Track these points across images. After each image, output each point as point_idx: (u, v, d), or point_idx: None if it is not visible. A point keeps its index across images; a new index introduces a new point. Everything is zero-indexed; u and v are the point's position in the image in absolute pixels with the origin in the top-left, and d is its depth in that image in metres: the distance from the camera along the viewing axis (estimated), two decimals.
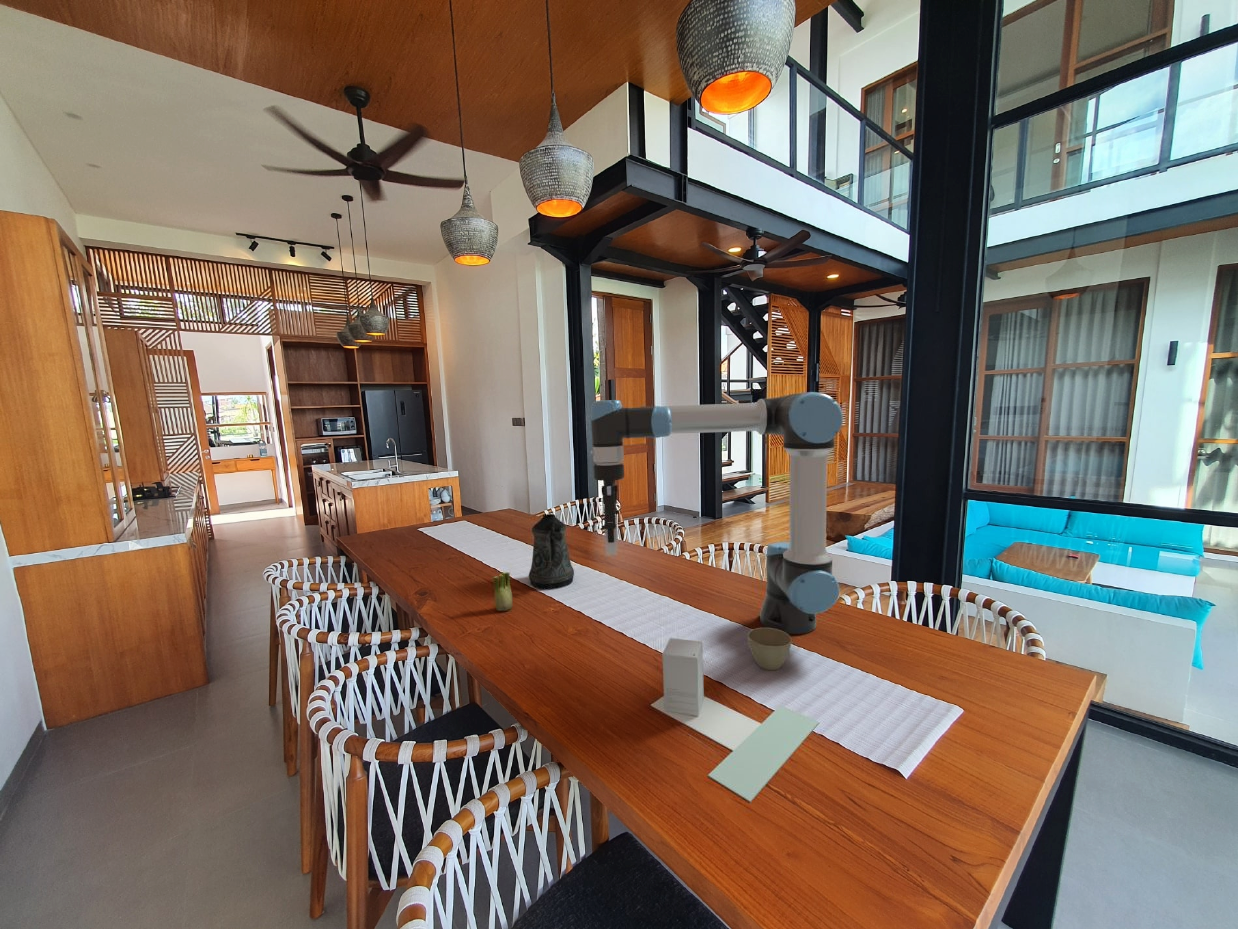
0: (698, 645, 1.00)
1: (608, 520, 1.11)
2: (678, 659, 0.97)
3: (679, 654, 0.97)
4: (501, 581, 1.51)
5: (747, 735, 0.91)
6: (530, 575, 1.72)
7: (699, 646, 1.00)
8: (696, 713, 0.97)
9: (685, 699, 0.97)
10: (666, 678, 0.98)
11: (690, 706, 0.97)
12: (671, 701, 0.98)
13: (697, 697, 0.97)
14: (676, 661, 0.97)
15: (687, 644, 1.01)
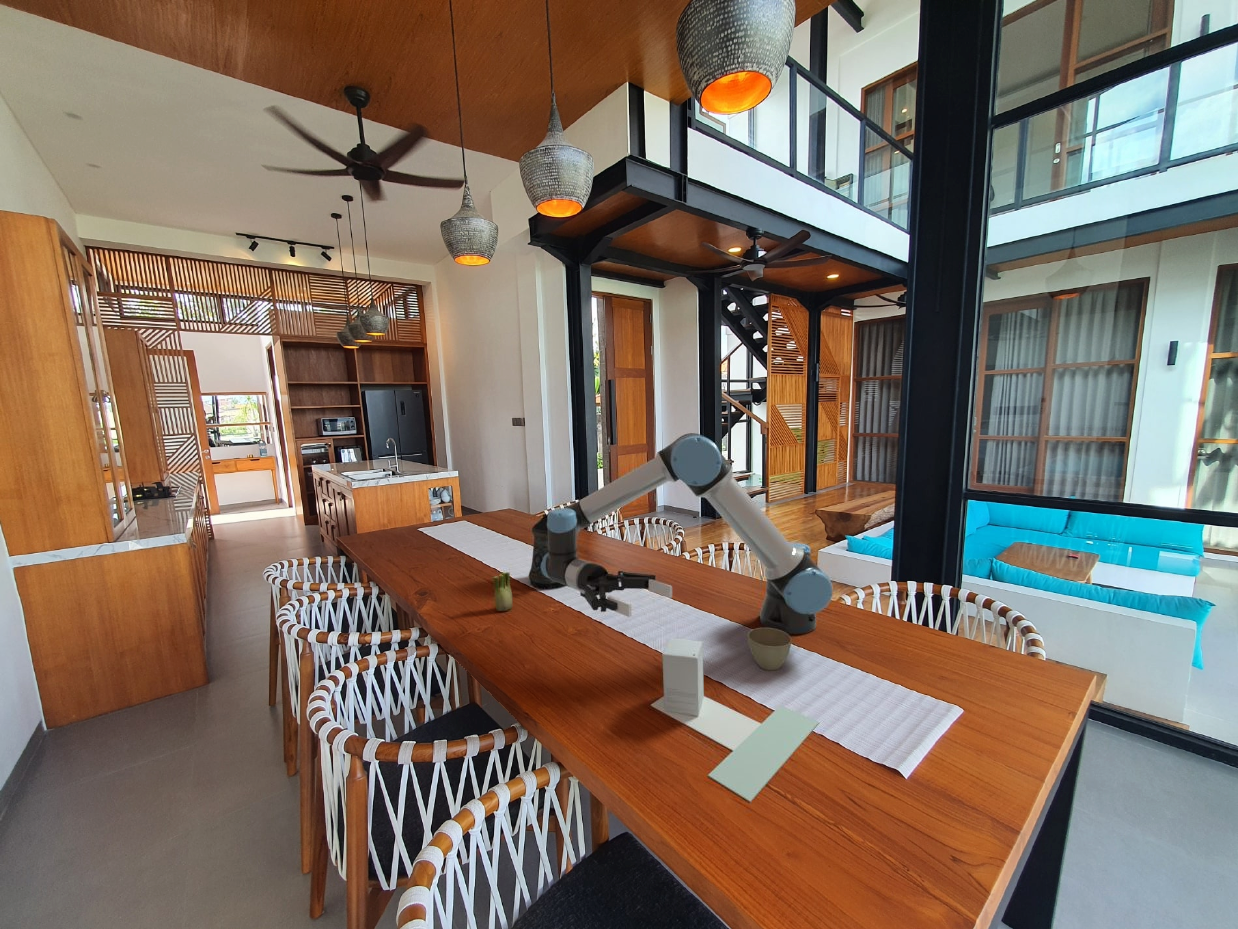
0: (698, 645, 1.00)
1: (591, 603, 1.05)
2: (678, 659, 0.97)
3: (679, 654, 0.97)
4: (501, 581, 1.51)
5: (747, 735, 0.91)
6: (530, 575, 1.72)
7: (699, 646, 1.00)
8: (696, 713, 0.97)
9: (685, 699, 0.97)
10: (666, 678, 0.98)
11: (690, 706, 0.97)
12: (671, 701, 0.98)
13: (697, 697, 0.97)
14: (676, 661, 0.97)
15: (687, 644, 1.01)
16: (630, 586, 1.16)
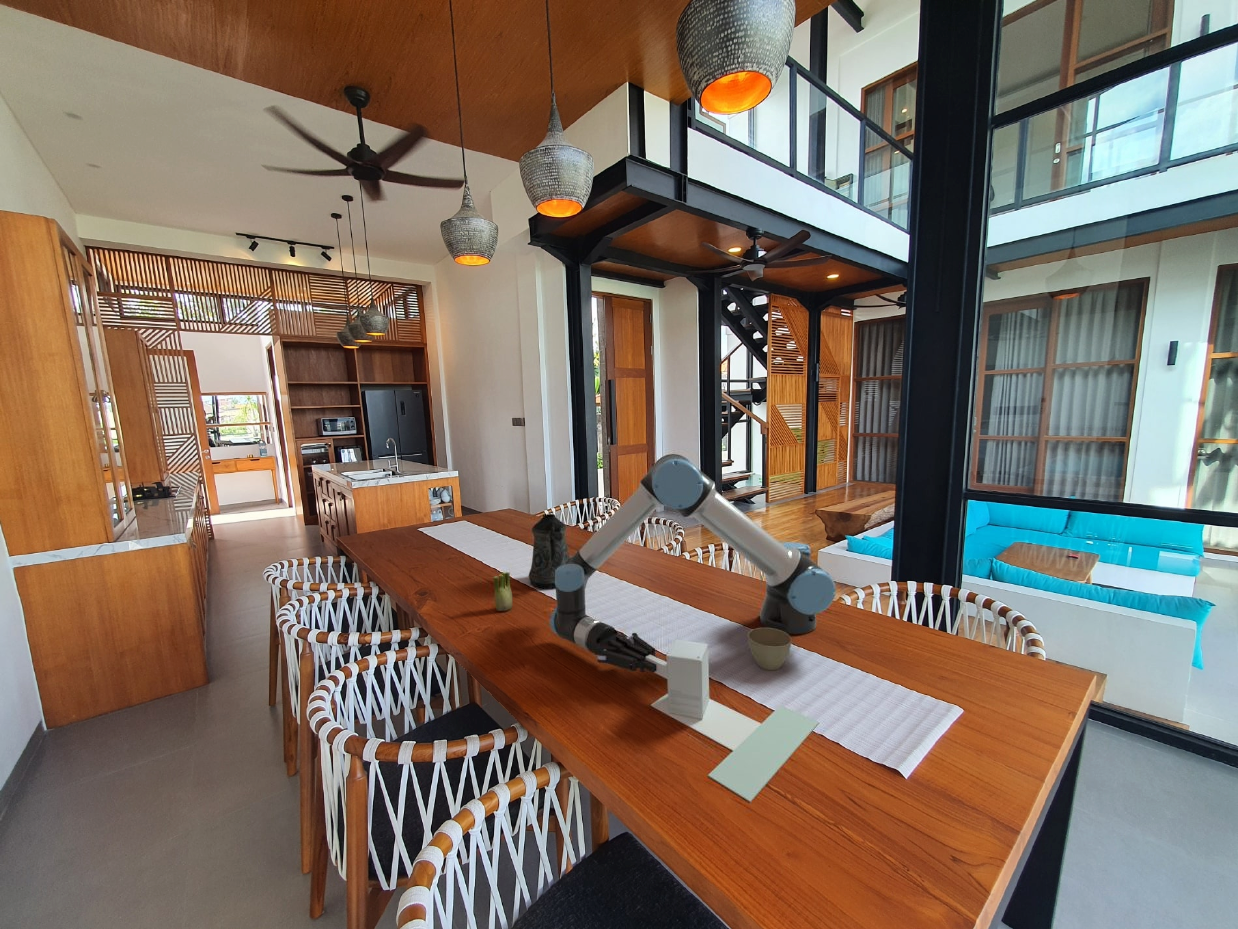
0: (703, 647, 0.99)
1: (628, 665, 1.06)
2: (682, 661, 0.96)
3: (683, 656, 0.96)
4: (501, 581, 1.51)
5: (747, 735, 0.91)
6: (530, 575, 1.72)
7: (704, 648, 0.99)
8: (700, 716, 0.96)
9: (689, 702, 0.96)
10: (670, 680, 0.97)
11: (694, 709, 0.96)
12: (675, 703, 0.97)
13: (701, 700, 0.96)
14: (680, 663, 0.96)
15: (692, 646, 1.00)
16: None
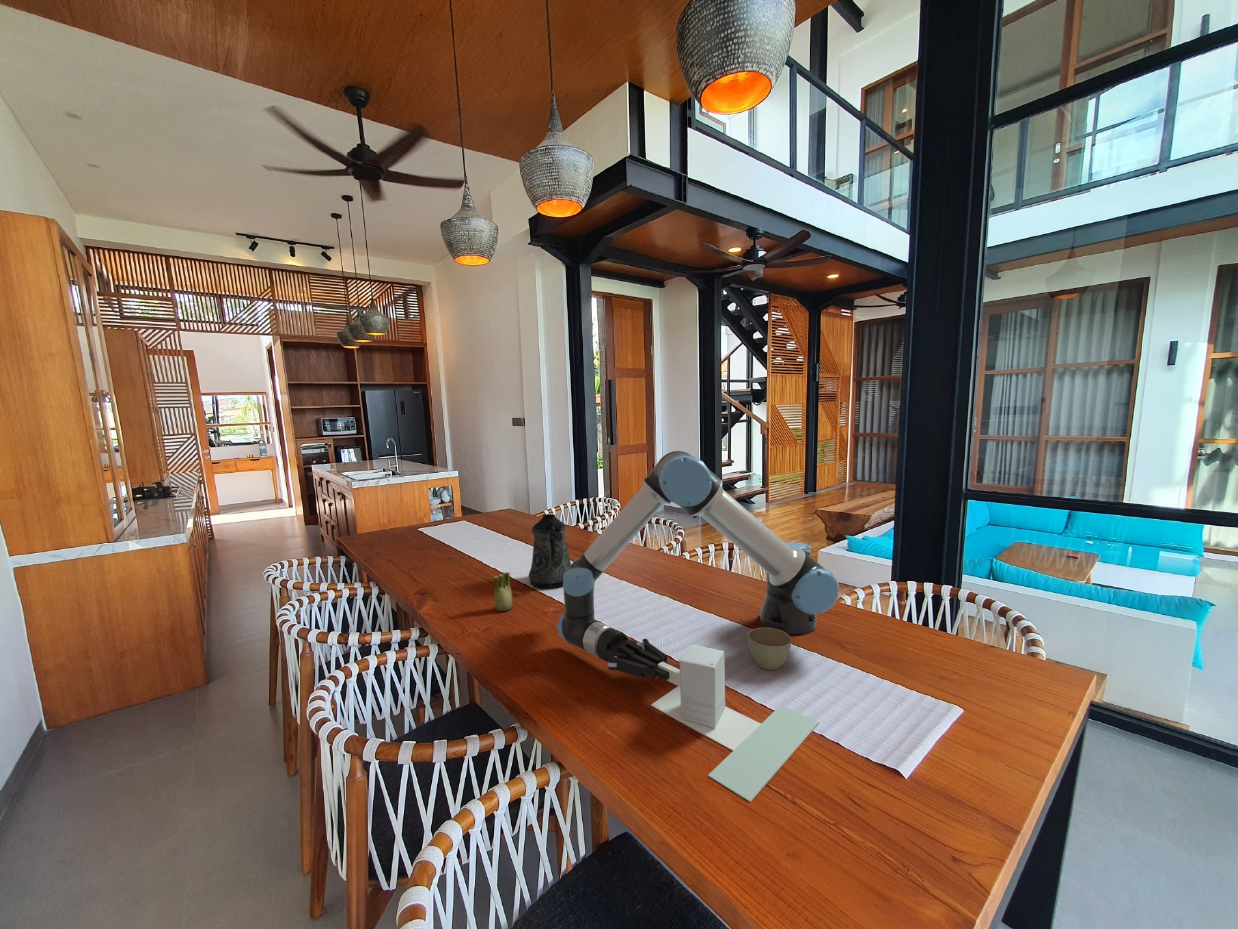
0: (719, 654, 0.96)
1: (640, 673, 1.03)
2: (695, 667, 0.94)
3: (696, 662, 0.94)
4: (501, 581, 1.51)
5: (747, 735, 0.91)
6: (530, 575, 1.72)
7: (719, 655, 0.96)
8: (713, 725, 0.93)
9: (702, 709, 0.94)
10: (683, 686, 0.95)
11: (706, 717, 0.94)
12: (688, 709, 0.95)
13: (714, 708, 0.93)
14: (693, 668, 0.94)
15: (708, 652, 0.97)
16: None
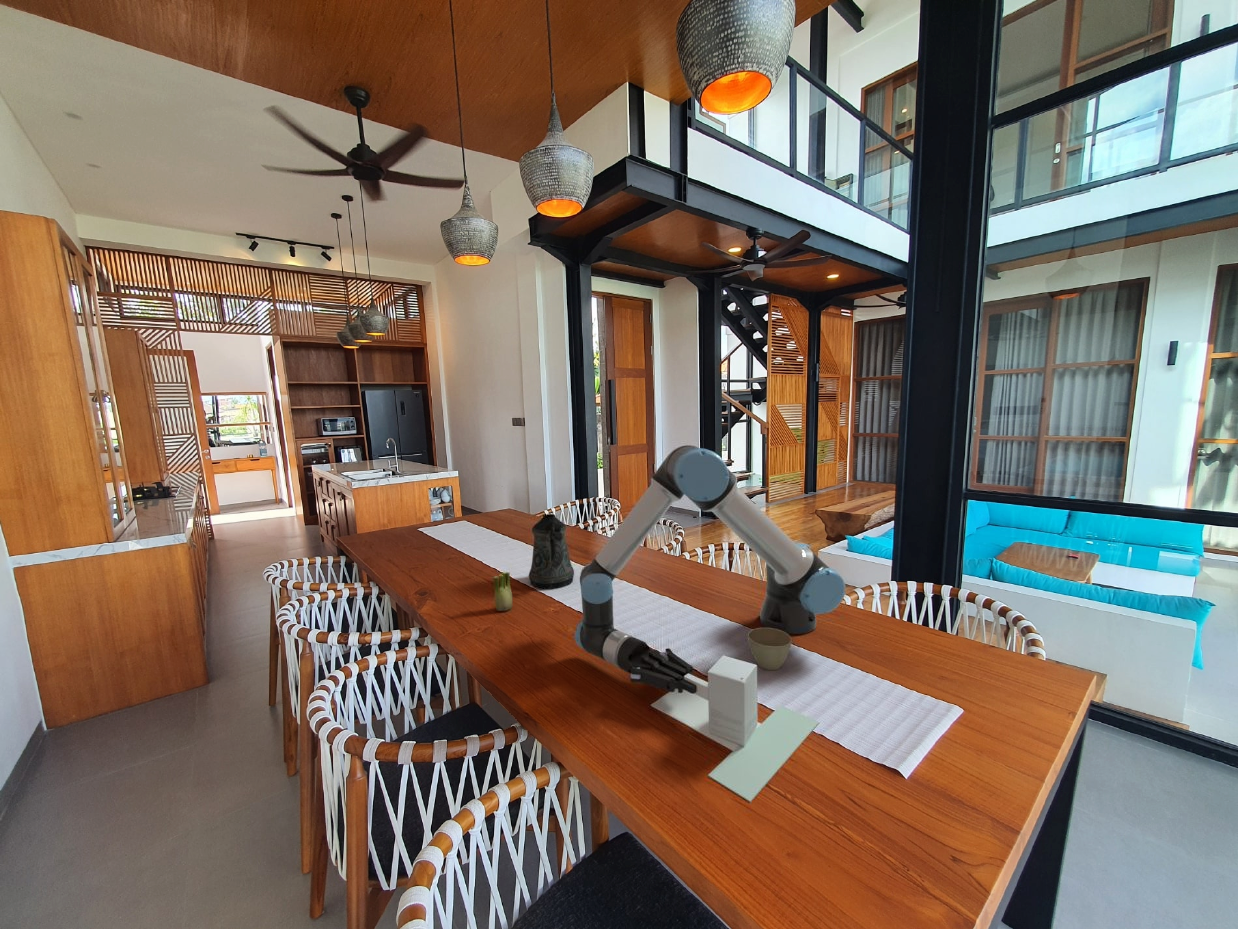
0: (750, 668, 0.91)
1: (665, 686, 0.98)
2: (724, 680, 0.89)
3: (725, 675, 0.89)
4: (501, 581, 1.51)
5: None
6: (530, 575, 1.72)
7: (751, 670, 0.91)
8: (742, 743, 0.88)
9: (730, 725, 0.89)
10: (711, 698, 0.91)
11: (735, 734, 0.89)
12: (716, 724, 0.91)
13: (743, 725, 0.88)
14: (721, 681, 0.89)
15: (739, 665, 0.92)
16: None
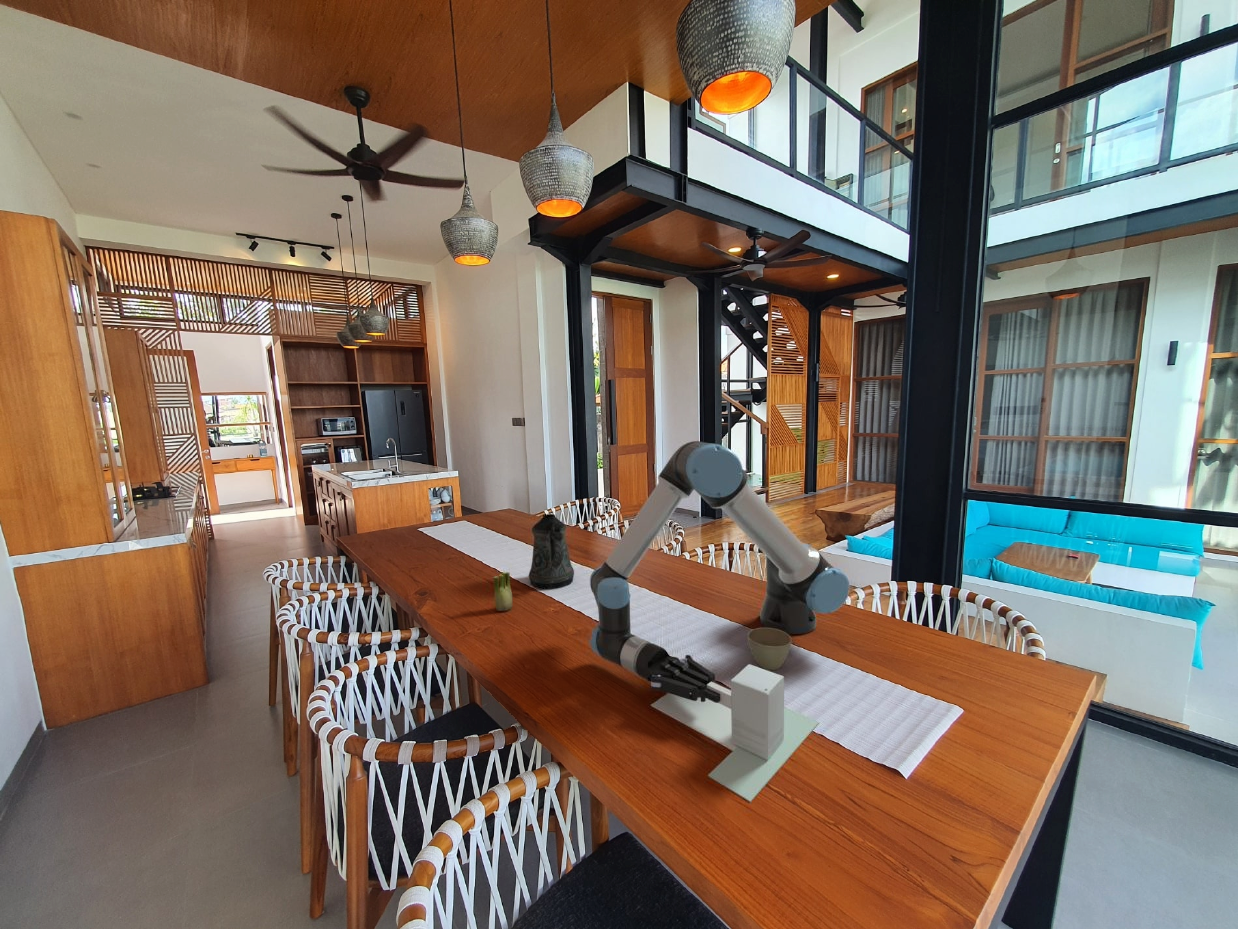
0: (776, 680, 0.87)
1: (687, 694, 0.94)
2: (747, 690, 0.85)
3: (749, 684, 0.86)
4: (501, 581, 1.51)
5: None
6: (530, 575, 1.72)
7: (777, 681, 0.87)
8: (765, 756, 0.84)
9: (753, 737, 0.85)
10: (734, 708, 0.88)
11: (758, 747, 0.85)
12: (739, 735, 0.88)
13: (767, 738, 0.84)
14: (744, 691, 0.86)
15: (765, 675, 0.88)
16: None
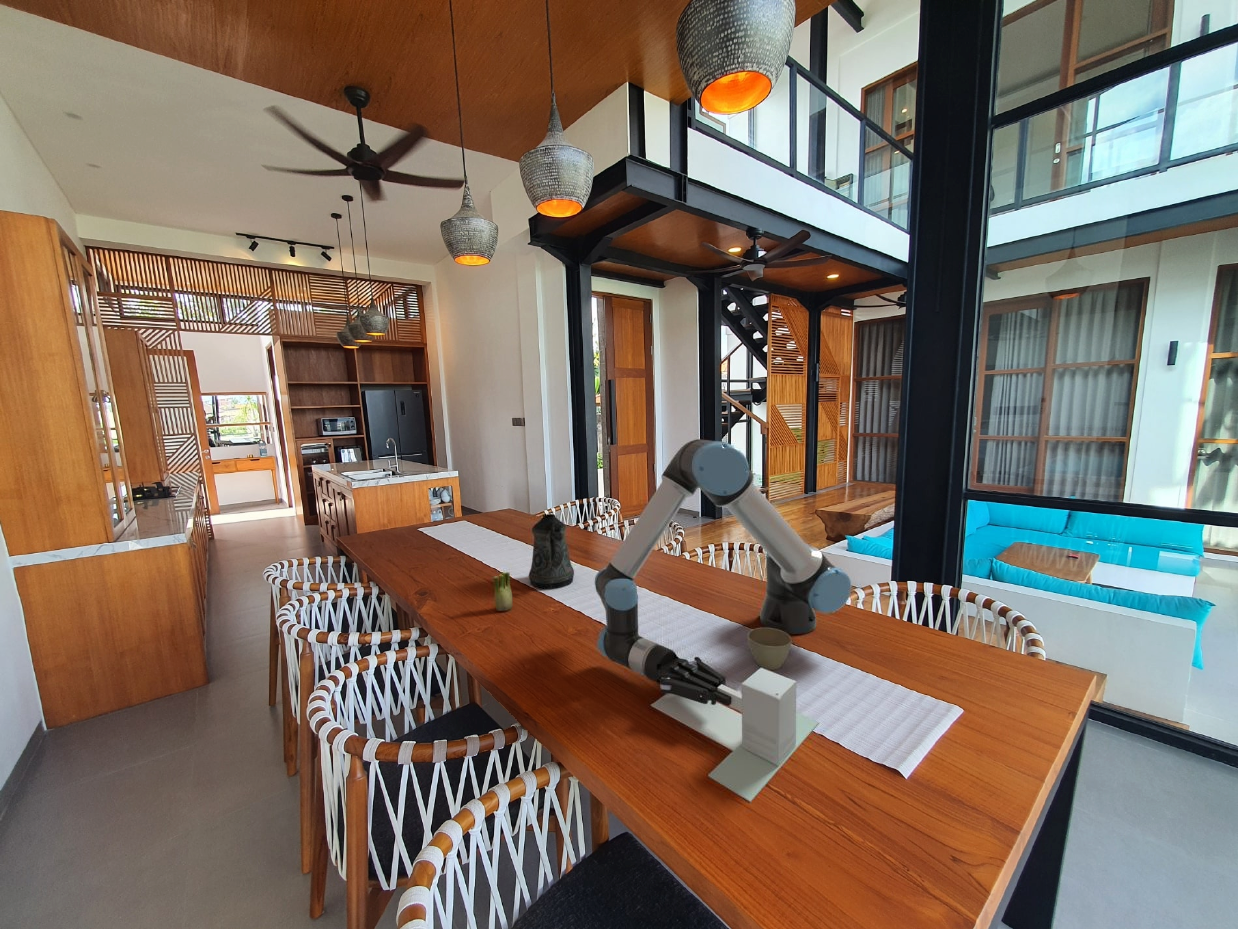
0: (788, 684, 0.85)
1: (698, 697, 0.93)
2: (758, 694, 0.84)
3: (759, 688, 0.84)
4: (501, 581, 1.51)
5: None
6: (530, 575, 1.72)
7: (789, 686, 0.85)
8: (776, 762, 0.83)
9: (764, 742, 0.84)
10: (745, 712, 0.86)
11: (769, 752, 0.84)
12: (749, 739, 0.86)
13: (777, 744, 0.83)
14: (755, 695, 0.84)
15: (776, 680, 0.87)
16: None
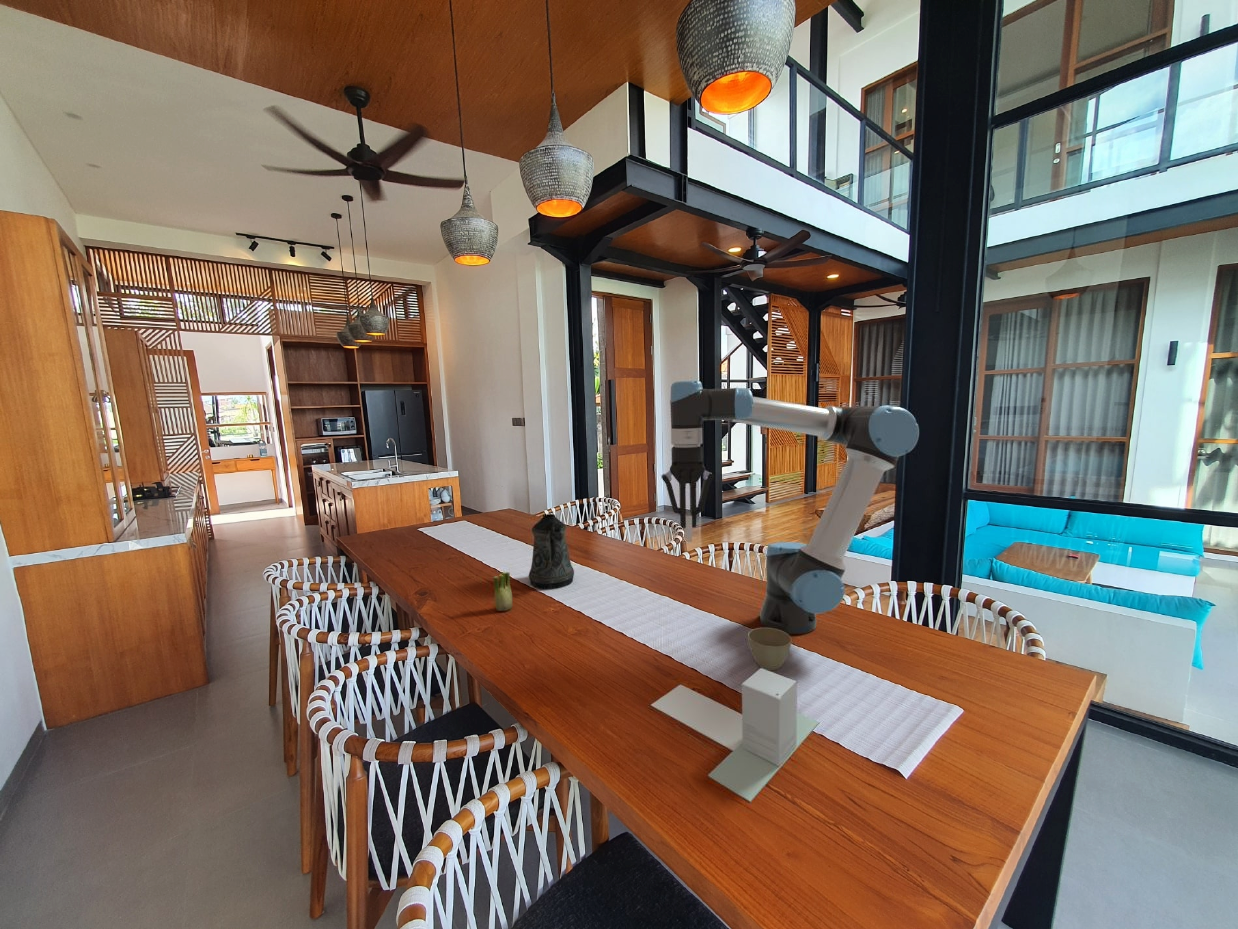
0: (789, 684, 0.85)
1: None
2: (758, 694, 0.84)
3: (760, 689, 0.84)
4: (501, 581, 1.51)
5: None
6: (530, 575, 1.72)
7: (789, 686, 0.85)
8: (776, 762, 0.83)
9: (764, 742, 0.84)
10: (745, 712, 0.86)
11: (769, 752, 0.84)
12: (750, 740, 0.86)
13: (778, 744, 0.82)
14: (755, 696, 0.84)
15: (776, 680, 0.87)
16: None
